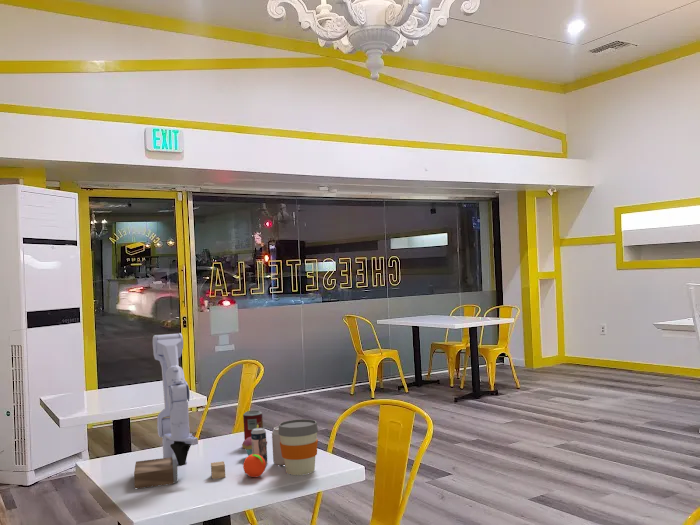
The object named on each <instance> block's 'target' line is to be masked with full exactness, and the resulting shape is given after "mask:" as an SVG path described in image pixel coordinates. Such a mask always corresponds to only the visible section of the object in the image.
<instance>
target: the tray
mask: <svg viewBox="0 0 700 525" xmlns="http://www.w3.org/2000/svg"><path fill="white" fill-rule="evenodd" d="M172 459H173V479H174V484H175V483H178V465H177V460H176V456H175V454H172Z"/></svg>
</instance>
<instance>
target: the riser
mask: <svg viewBox="0 0 700 525" xmlns="http://www.w3.org/2000/svg"><path fill="white" fill-rule="evenodd" d="M210 470H211V479H212V480H215V479H223V478H226V465H225V461H224V460H223V461H216V462H210Z"/></svg>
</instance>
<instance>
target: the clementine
mask: <svg viewBox="0 0 700 525" xmlns="http://www.w3.org/2000/svg"><path fill="white" fill-rule="evenodd" d="M242 465H243V471H244V473H245V474H246V475H247V476H248V477H251V478H258V477H260V476H261V475H262V474H264V472H265V470H266V466H267V465H266V463H265V460H264V458H263V457H262V456H260V455H259V454H251V455H249V456H248V455H247V457H246V458H245V459H244V462H243V464H242Z"/></svg>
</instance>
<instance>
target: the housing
mask: <svg viewBox="0 0 700 525" xmlns="http://www.w3.org/2000/svg"><path fill="white" fill-rule="evenodd" d="M133 483H134V489H135V488H138V489H144V487H146V488H151V486H153V487H159V486H158V485H161V486H166V484H168V485H174V484H175V483H174V479H173V459H172V457H170V458H163V457H162V458H155V459H148V460H146V459H145V460H139V461H135V465H134V472H133Z"/></svg>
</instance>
